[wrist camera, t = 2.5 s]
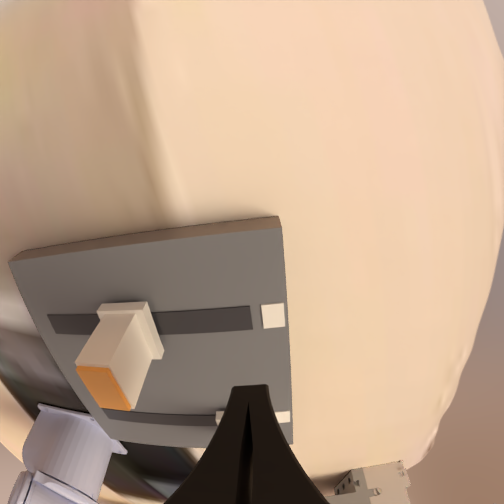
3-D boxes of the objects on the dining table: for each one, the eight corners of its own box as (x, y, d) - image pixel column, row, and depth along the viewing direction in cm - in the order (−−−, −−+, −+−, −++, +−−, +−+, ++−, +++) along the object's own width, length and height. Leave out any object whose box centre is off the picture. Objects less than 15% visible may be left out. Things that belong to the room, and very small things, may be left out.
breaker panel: (115, 425, 25) (110, 439, 23) (22, 251, 17) (7, 262, 15) (291, 428, 24) (293, 445, 22) (278, 216, 16) (282, 228, 14)
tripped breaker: (121, 350, 17) (94, 410, 12) (101, 303, 16) (62, 362, 11) (164, 350, 17) (143, 416, 12) (146, 301, 15) (114, 366, 11)
